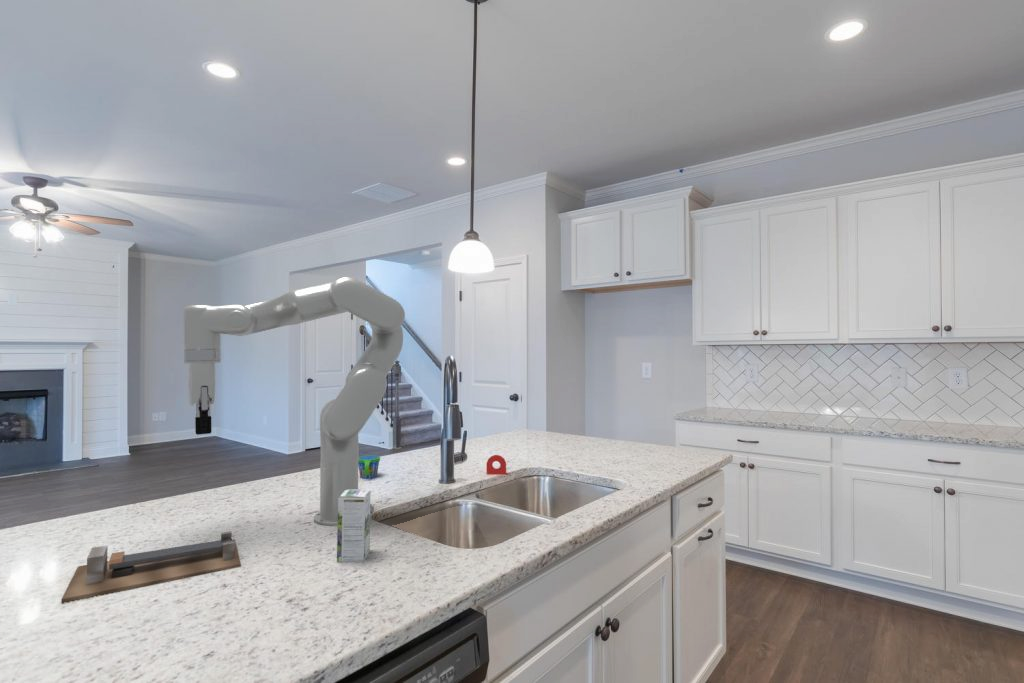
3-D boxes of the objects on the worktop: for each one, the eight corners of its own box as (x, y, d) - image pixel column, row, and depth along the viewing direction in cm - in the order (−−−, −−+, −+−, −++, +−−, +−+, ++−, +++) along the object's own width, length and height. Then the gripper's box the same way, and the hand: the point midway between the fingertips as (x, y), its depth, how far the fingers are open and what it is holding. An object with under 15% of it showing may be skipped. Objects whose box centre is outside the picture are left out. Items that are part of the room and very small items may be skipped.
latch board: (234, 544, 119) (235, 518, 119) (240, 569, 105) (241, 540, 105) (78, 572, 104) (78, 542, 104) (61, 606, 90) (61, 571, 91)
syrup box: (343, 555, 113) (343, 489, 113) (370, 554, 113) (370, 488, 113) (336, 566, 107) (336, 496, 107) (365, 565, 108) (365, 495, 108)
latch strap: (231, 543, 114) (232, 533, 114) (233, 551, 110) (233, 541, 110) (112, 562, 103) (112, 552, 103) (108, 572, 98) (109, 561, 98)
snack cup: (361, 474, 184) (361, 454, 184) (382, 474, 184) (382, 453, 184) (353, 483, 173) (353, 461, 173) (376, 483, 173) (376, 460, 173)
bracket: (485, 480, 177) (485, 457, 177) (486, 477, 182) (486, 454, 182) (520, 481, 176) (520, 458, 176) (520, 478, 181) (520, 455, 181)
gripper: (182, 356, 127) (183, 431, 127) (185, 357, 115) (186, 440, 115) (217, 356, 132) (218, 428, 131) (223, 356, 119) (224, 436, 119)
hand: (203, 433), depth 123 cm, fingers closed
